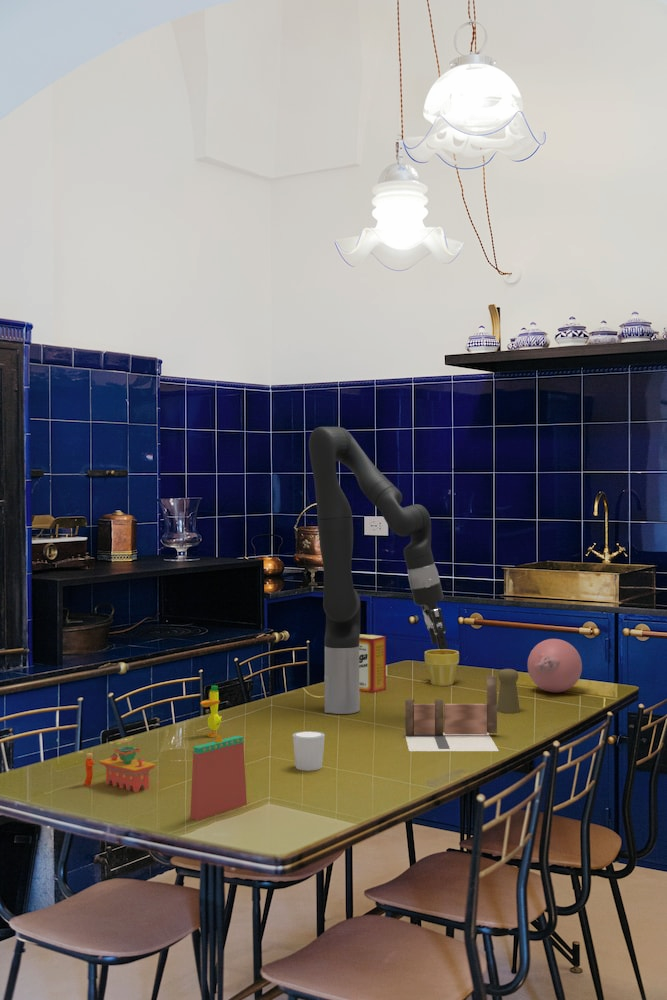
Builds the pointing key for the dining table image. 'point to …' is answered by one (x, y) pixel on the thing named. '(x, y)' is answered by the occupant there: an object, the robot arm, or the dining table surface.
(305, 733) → the white short tapered cylinder
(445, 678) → the plant pot
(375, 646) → the baking soda box
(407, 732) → the fence fixed section
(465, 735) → the card
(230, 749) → the toy building block set
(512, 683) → the brown tall tapered piece
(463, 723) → the hinged fence panel
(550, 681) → the pink rubber ball
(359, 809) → the dining table surface
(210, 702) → the toy figure
